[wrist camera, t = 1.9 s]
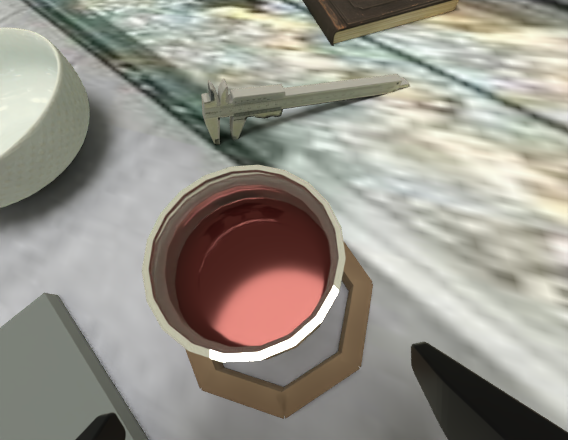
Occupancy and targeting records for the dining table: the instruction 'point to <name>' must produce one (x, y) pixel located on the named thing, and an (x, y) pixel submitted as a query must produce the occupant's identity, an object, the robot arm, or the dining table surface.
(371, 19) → the hardcover book
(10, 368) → the slate board
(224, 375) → the ring holder
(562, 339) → the dining table surface
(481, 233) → the dining table surface
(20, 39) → the cereal bowl
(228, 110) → the caliper
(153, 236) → the wineglass
